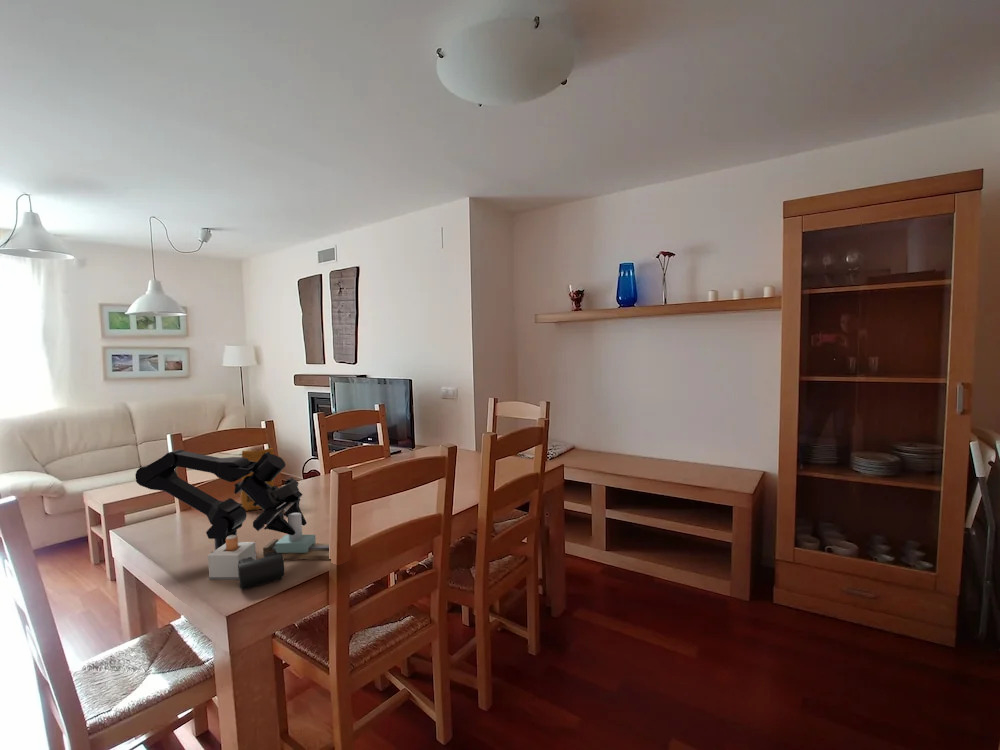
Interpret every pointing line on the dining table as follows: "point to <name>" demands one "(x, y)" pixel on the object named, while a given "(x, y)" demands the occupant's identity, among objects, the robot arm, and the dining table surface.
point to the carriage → (295, 538)
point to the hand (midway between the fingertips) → (300, 529)
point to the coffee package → (255, 457)
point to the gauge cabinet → (229, 561)
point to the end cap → (260, 570)
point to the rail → (313, 553)
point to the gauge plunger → (231, 543)
